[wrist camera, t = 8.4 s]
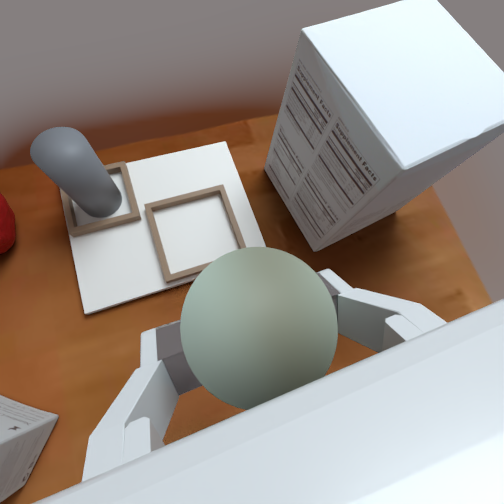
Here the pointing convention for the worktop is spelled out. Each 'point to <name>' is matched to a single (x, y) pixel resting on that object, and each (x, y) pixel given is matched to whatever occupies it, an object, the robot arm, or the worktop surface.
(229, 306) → the sage pin
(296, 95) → the supplement box
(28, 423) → the skincare box
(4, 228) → the pomegranate
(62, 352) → the worktop surface
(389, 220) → the worktop surface
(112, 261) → the board
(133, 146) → the worktop surface
